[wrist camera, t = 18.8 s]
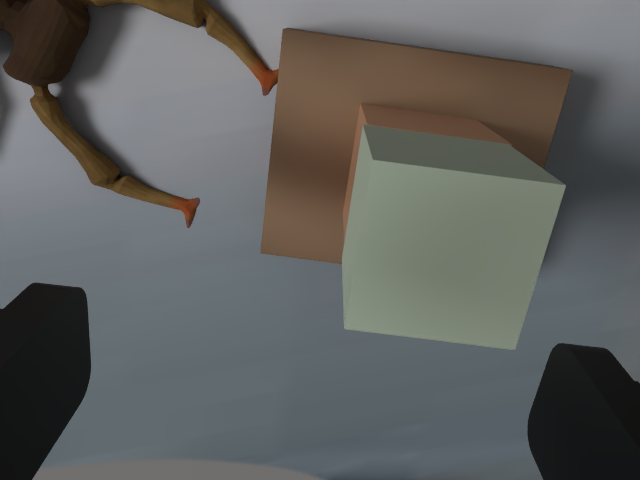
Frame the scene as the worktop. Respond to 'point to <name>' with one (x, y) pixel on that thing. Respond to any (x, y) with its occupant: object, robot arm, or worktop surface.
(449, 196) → the sage block
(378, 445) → the worktop surface
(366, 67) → the base board
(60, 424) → the robot arm
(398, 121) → the terracotta block
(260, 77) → the toy
